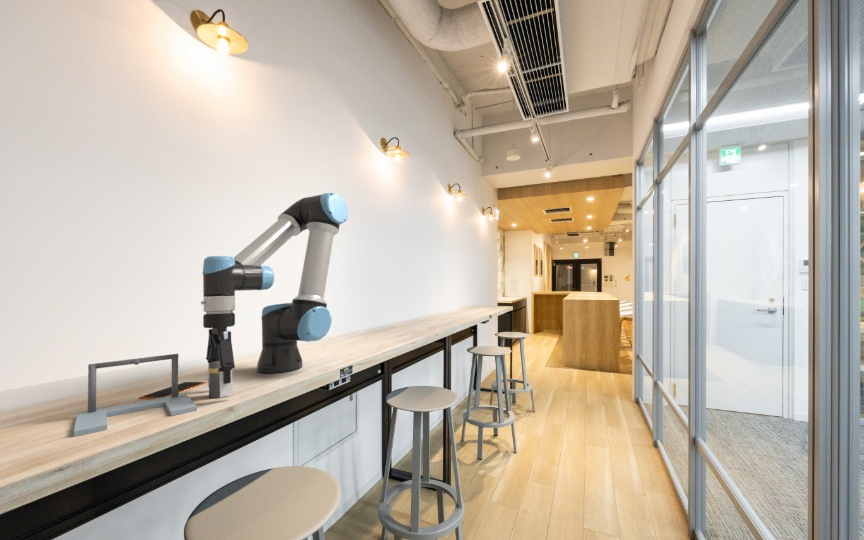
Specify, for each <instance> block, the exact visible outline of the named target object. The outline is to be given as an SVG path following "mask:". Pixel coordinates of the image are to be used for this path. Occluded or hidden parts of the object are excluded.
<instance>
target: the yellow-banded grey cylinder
mask: <svg viewBox="0 0 864 540" xmlns="http://www.w3.org/2000/svg"><path fill="white" fill-rule="evenodd" d="M208 364H209V387H208V398H209V399H211V400H212V399H221V398H222V399H223V398H225V397H227V396H224V397H220V372H218V369H219V368H221V367H220V361H215V362H211V363H208Z"/></svg>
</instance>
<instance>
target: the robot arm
mask: <svg viewBox="0 0 864 540" xmlns="http://www.w3.org/2000/svg"><path fill="white" fill-rule="evenodd" d="M348 217H349V211H348V206H347V203H346V202H345V200H344V198H343V197H342V196H341V195H339V194H338V193H335V192H323V193H322V194H317V195H313V196H307V197H302V198H301V199H299V200H297V201H296V202H294V203H293V204H291V205H290V206H289V207H288V208H286V209H285V210H284V211H283V212H281V213H280V214H279V215H278V217H277V221H276V222H274V223H273V224H272V225H271V226H270V227H268V228H266V230H265V231H264V232H262V233H261V234H260V235H259V236H258V237H256V238H255V239H254V240H253V241H252V242H251V243H249V244H248V245H247V246H246V247H244V248H243V249H242V250H241V251H240V252H238V253H237V254H236V255H235V256H234V257H232V256H227V255H210V256H207V257H204V260H203V264H202V277H203V278H202V280H203V281H202V282H203V283H202V284H203V285H202V286H203V287H202V289H203V296H202V297H203V300H202V301H200V304H201V306H202V305H203V312H204V315H203V317H202V318H203V319H202V320H203V322H202V323H203V328H205V329H208V339H207V348H206V358H205V359H206V361H207V388H209V363H211V362H215V361H220V367H221V368H219V369H218V372H220V397H223V398H225V397H224V396H226V397H228V396H229V397H230V396H232V395H233V369H235V367H236V365H235V359H234V350H233V344H232V332H231V330H229V331H228V327H229V328H230V327H234V326H235V324H236V314H235V312H233V311H236V296H235V295H236V292H238V291H239V292H240V291H264V290H269V289H271V287H273V285H274V283H275V273H274V270H273V268H271V267H270V266H269V265H263V264H264V263H265V262H266V261H268V259H269V258H270V257H272V256H273V255H274V254H275V253H276V252H277V251H278V250H279V249H280V248H281V247H282V246H284V245H285V244H286V243H287V242H288V241H289V240H291V238H292V237H295V236H298V235H300V233H302V232H303V231H304V232H305V230H308V231H309V232H308V237H307V238H308V239H307V243H306V250H305V256H304V261H303V266H302V272H301V276H300V284H299V288H298V294H297V296H295V297H294V298H292V301H291V302H286V303H278V304H277V303H275V304H271V305H270V304H269V305H266V306H265V307H263V308H262V311H261V318H260V319H261V339H262V340H261V341H262V342H261V343H262V347H261V348H262V349H261V352H260V355H259V357H258V361H257V363H256V372H258V373H259V374H260V373H261V374H279V373H286V372H287V373H288V372H291V371H292V372H293V371H296V370H299V369H301V368H303V358H302V356H301V353H300V350H299V347H298V342H299V341H300V342H307V343H309V342H310V343H311V342H317V341H320V340H322V339H323V338H324V337H325V336H326V335H327V334H328V333H329V332H330V329H331V327H332V320H333V319H332V318H333V317H332V315H331V313H330V310H329V309H328V308H327V307H328V303H327V302H326V300H325V291H326V286H327V285H326V284H327V278H328V275H329V274H328V273H329V266H330V261H331V256H332V255H331V254H332V247H333V242H334V236H336V235H337V234H338V233H339V232H340V231H339V230H340V225H342V224H344V223H345V222H346V221H347V220H348Z"/></svg>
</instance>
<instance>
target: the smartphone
mask: <svg viewBox="0 0 864 540" xmlns="http://www.w3.org/2000/svg"><path fill="white" fill-rule="evenodd" d="M204 383H205V384H207V382H206V381H185V382H181V383H178V394H180V393H179V392H181V391H184V390H186V391H188V390H187V389H189V390H191V389H190V388H192V389H194V388H196V386H197V387H199V385H200V386H202V384H203V385H205V384H204ZM193 387H194V388H193ZM184 392H185V391H184ZM181 393H182V392H181ZM168 396H172V386H170V387H167V388H163V389H160V390H156V391H154V392H151V393H148V394H145V395H142V396H140V397H138V400H152V399H157V398H163V397H168Z"/></svg>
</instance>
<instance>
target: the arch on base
mask: <svg viewBox="0 0 864 540" xmlns="http://www.w3.org/2000/svg"><path fill="white" fill-rule="evenodd" d="M165 360H171V387H172V396H168V397H163V398H157V399H145V400H141V401H137V402H132V403H131V402H130V403H126V404H121V405H115V406H114V405H113V406H109V407H103V408H99V409H97V369H103V368H112V367H119V366H127V365H128V366H129V365H136V366H138V365H139V364H141V363H143V364H144V363H150V362H151V363H153V362H159V361H165ZM87 366H88V371H87V372H88V373H87V376H88V377H87V378H88V380H87V411H83V412H82V411H81V412H77V413H76V418H75V423H74V428H73V429H74V430H73V437H78V436H83V435H88V434H92V433H98V432H102V431H107V429H108V417H113V416H118V415H123V414H128V413H134V412H139V411H144V410H149V409H153V408H154V409H155V408H159V407H163V406H164V407H165V408H166V409H167V412H168V413H169V415H170V417H171V416H177V415H181V414H186V413H191V412H195V411H198V410H197V408H198V407H197V405H196V404H195V403H194V401H193V400H192V399H191V398H190V397H189V396H188V394H186V393H184V392H183V393H178V384H179V353H173V354H172V353H171V354H164V355H163V354H162V355H156V356H147V357H139V358H130V359H121V360H114V361H113V360H112V361H105V362H99V363H98V362H97V363H90V364H87Z"/></svg>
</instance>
